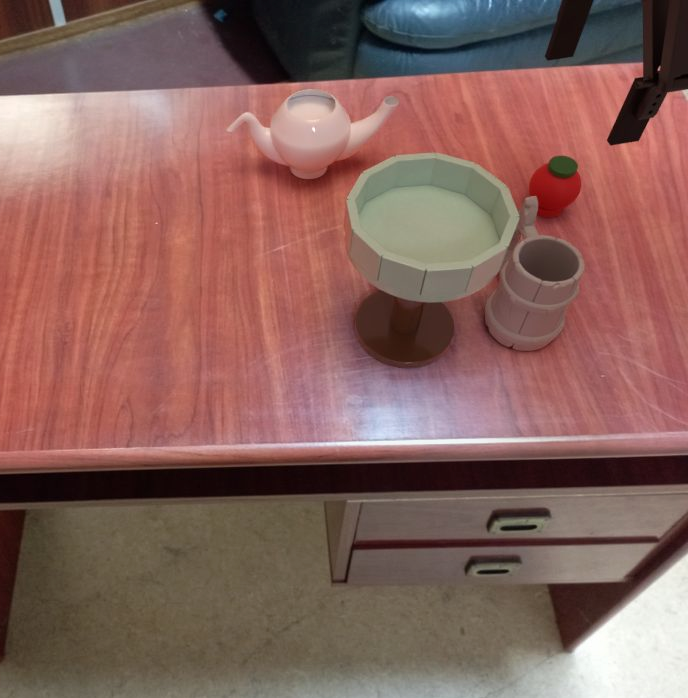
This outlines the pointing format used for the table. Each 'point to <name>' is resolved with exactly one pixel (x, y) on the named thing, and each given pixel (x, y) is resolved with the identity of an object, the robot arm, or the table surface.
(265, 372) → the table surface
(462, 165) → the dish
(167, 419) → the table surface
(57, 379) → the table surface
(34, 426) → the table surface
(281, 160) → the teapot
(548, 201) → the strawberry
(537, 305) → the mug
